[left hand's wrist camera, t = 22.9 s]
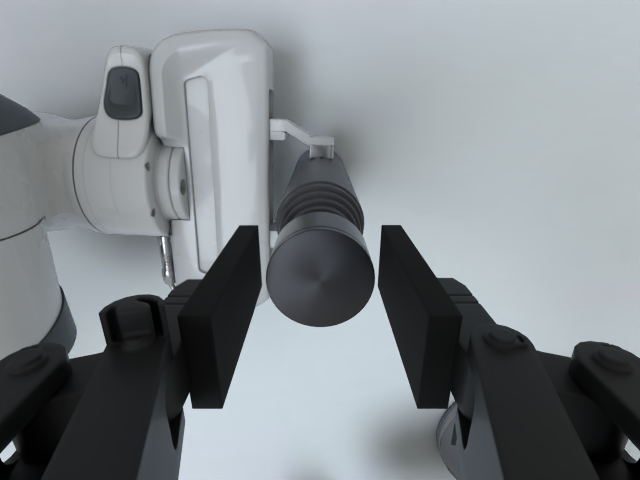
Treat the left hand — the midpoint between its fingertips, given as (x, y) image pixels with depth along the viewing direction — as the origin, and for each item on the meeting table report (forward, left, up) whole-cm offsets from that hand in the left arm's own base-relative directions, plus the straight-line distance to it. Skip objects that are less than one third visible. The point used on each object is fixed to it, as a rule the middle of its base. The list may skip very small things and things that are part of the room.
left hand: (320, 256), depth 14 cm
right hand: (-1, 0, -14) cm, 14 cm away
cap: (0, 0, +2) cm, 2 cm away
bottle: (0, 0, -20) cm, 20 cm away
